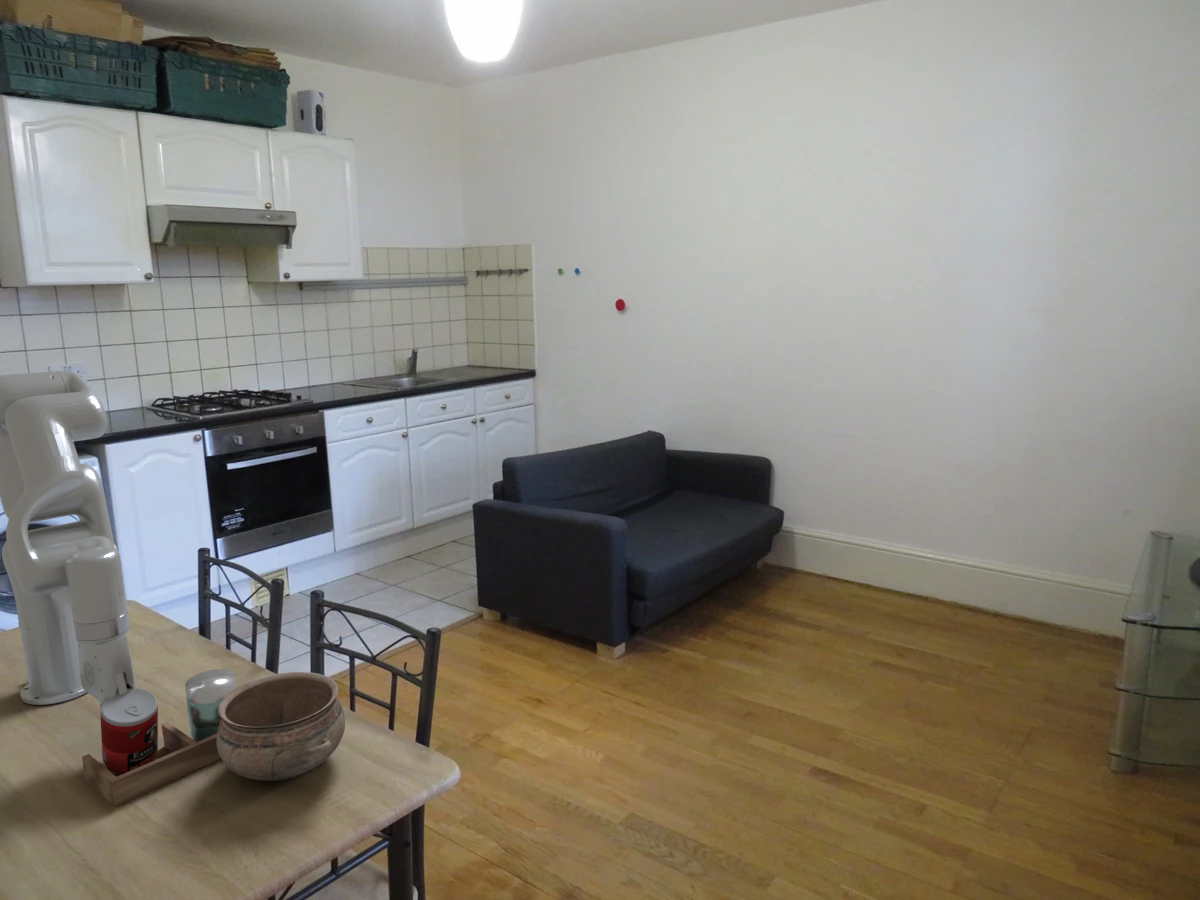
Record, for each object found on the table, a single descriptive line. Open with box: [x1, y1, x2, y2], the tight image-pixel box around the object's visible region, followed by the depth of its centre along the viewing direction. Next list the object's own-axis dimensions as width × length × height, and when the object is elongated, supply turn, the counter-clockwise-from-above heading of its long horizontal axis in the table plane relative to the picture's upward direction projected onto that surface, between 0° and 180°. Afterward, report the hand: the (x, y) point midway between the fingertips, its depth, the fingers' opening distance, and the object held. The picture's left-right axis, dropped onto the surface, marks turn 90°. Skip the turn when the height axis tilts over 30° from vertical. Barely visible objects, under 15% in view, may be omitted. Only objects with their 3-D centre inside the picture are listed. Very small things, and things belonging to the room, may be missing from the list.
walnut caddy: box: [81, 721, 222, 808], centre depth 136 cm, size 11×25×4 cm, turn 141°
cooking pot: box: [217, 671, 346, 782], centre depth 131 cm, size 25×19×12 cm
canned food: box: [100, 687, 159, 775], centre depth 131 cm, size 8×8×11 cm
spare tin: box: [184, 668, 238, 742], centre depth 140 cm, size 8×8×11 cm
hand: (117, 731), depth 136 cm, fingers closed
